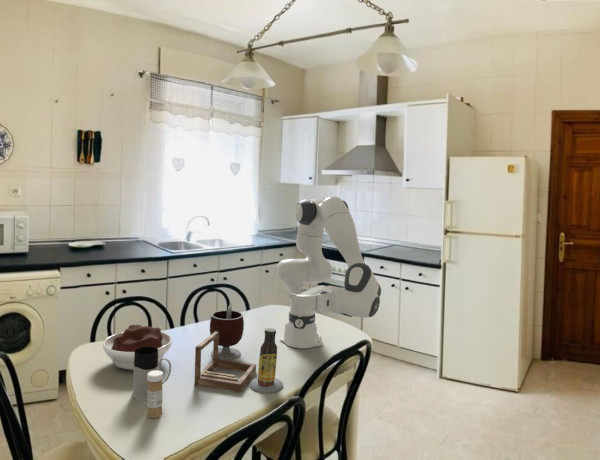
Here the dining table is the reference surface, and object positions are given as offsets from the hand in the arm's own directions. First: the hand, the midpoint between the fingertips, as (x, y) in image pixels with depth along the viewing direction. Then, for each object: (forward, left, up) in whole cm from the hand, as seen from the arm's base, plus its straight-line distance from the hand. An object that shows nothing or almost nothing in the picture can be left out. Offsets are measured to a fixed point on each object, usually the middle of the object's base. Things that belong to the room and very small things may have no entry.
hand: (295, 292), depth 163 cm
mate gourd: (-19, -32, -34) cm, 50 cm away
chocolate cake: (+2, -60, -34) cm, 69 cm away
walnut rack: (+3, -24, -34) cm, 41 cm away
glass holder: (+23, -42, -34) cm, 59 cm away
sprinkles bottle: (+34, -35, -34) cm, 60 cm away
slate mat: (+4, -8, -34) cm, 35 cm away
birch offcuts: (+8, -24, -34) cm, 42 cm away
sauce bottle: (+4, -8, -34) cm, 35 cm away
